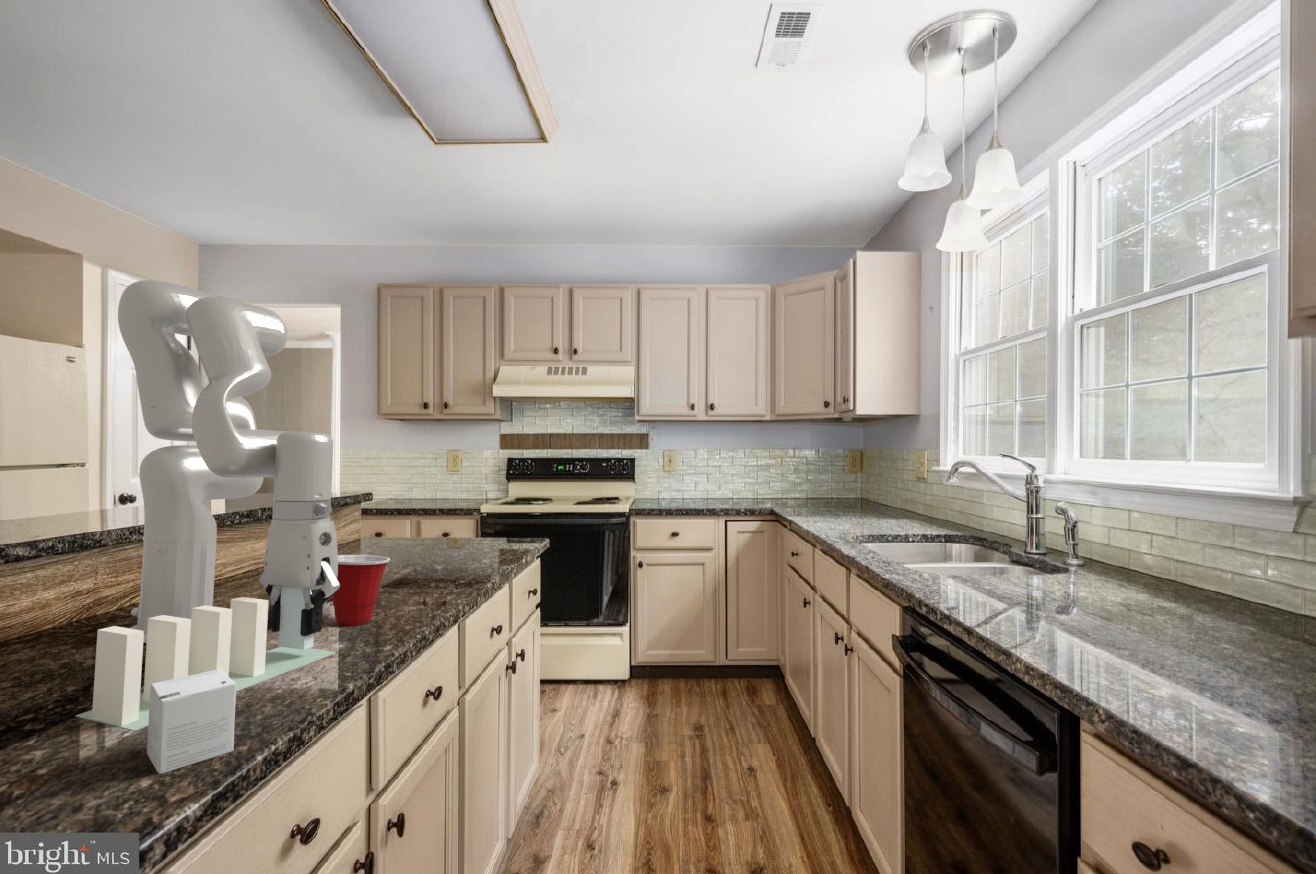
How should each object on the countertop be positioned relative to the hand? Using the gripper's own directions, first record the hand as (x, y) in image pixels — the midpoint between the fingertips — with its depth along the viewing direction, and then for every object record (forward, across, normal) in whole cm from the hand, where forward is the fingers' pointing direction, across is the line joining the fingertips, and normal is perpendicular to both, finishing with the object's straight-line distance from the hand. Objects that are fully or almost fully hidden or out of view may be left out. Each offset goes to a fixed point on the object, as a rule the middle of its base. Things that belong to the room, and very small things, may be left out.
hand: (296, 630), depth 86 cm
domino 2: (+4, 0, +18) cm, 18 cm away
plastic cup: (+4, +6, -18) cm, 19 cm away
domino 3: (+4, 0, +12) cm, 13 cm away
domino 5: (+2, 0, 0) cm, 2 cm away
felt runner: (+4, 0, +10) cm, 11 cm away
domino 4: (+4, 0, +8) cm, 8 cm away
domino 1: (+4, 0, +22) cm, 23 cm away
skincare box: (+4, -15, +24) cm, 29 cm away
